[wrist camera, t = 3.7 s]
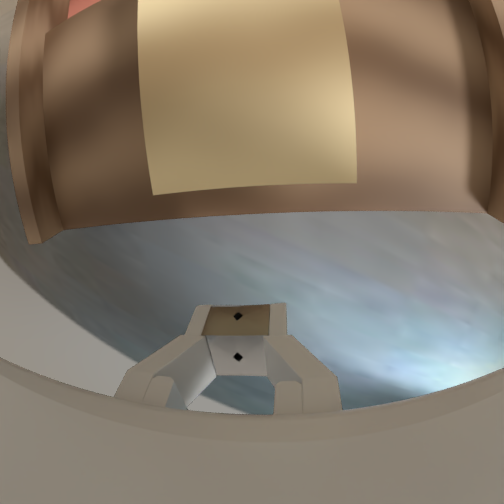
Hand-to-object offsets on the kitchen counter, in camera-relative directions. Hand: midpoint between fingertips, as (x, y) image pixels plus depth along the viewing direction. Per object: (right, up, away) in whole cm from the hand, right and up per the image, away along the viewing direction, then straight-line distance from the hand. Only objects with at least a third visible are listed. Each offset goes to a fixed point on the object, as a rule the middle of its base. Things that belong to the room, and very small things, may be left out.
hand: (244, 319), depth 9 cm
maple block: (0, +9, 0) cm, 9 cm away
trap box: (0, +20, -2) cm, 20 cm away
